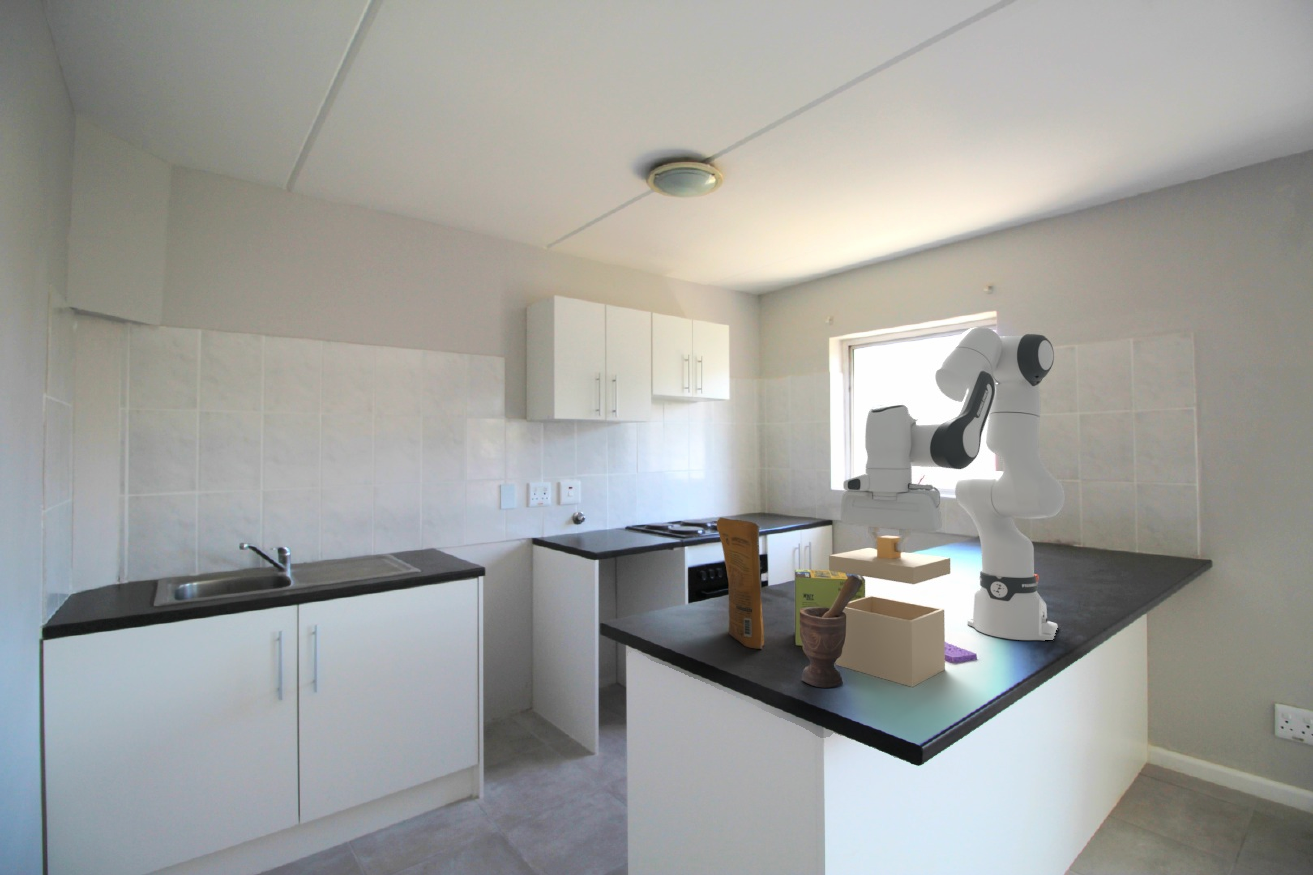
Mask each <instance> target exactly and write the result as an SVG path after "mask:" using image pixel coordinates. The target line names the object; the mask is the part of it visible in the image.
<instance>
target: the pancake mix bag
mask: <svg viewBox="0 0 1313 875" xmlns="http://www.w3.org/2000/svg"><path fill="white" fill-rule="evenodd" d="M760 528H761V526H759V525H758V524H756V522H752V521H748V520H742V519H732V518H731V519H729V518H726V517H725V518H724V517H719V518H718V520H716V529H717V532H718V535H719V538H720V543H721V547H722V552H723V559H724V564H725V567H726V574H727V579H728V580H727V582H728V635H729V636H731V638H733V639H734V640H736V641H738V642H739V643H741V645H743V646H744V647H745V648H751V649H757V650H758V649H761V650H763V646H764V645H765V638H764V620H763V617H764V616H763V607H762V580H761V579H762V577H761V560H760Z"/></svg>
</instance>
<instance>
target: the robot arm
mask: <svg viewBox="0 0 1313 875" xmlns="http://www.w3.org/2000/svg"><path fill="white" fill-rule="evenodd" d="M1054 360H1055V353H1054V348H1053V344H1052V343H1051V341H1050V340H1049V339H1048V338H1047V337H1046V336H1045V335H1043V334H1036V333H1031V334H1030V333H1026V334H1025V335H1005V336H999V334H998V332H996V331H994V330H993V329H990V328H988V327H984V326H977V327H972V328H969V329H968V330H966V331H964V332H963V333H962V334H961V335H959V337H958V338H956V340H955V341H953V343H952V344H951V345H950V346H949V347H948V348H947V349H946V351H945V353H944V354H943V355H942V357H941V358H940V360H939V361H938V363H937V365H936V367H935V370H934V373H933V374H934V375H933V377H934V381H935V384H936V386H937V389H939V391H940V392H941V393H942V394H943V395H945V396H946V397H948V398H949V399H950V400H951V401H952V400H953V401H955V402H959V403H961V405H960V407H959V410H958V412H957V414H955V415H954V416H952V417H948V418H945V419H937V420H935V419H934V420H932V419H931V420H919V419H917V418H915V417H913V416H912V415H911V414H910V412H909V408H908V406H907V405H906V404H903V403H888V404H882V405H877V406H874V407H872V408H871V409H870V410H869V411H868V413H867V418H866V422H865V423H866V425H865V436H864V437H865V439H864V440H865V444H864V446H865V450H866V451H865V452H866V454H867V460H866V464H865V474H862V475H858V476H855V477H852V478H848V479H845V480H844V481H843V483H842V484H843V489H844V491H845V492H844V493H843V494H842V497H841V504H840V519H841V521H842V523H843V524H844V525H847V526H858V527H867V529H868V530H867V531H868V534H869V537H870V538H871V539H872V541H873V548H874V549H876V550H877V537H880V535H879V532H880V529H886V530H887V529H888V530H898V536H900V537H901V538H900V540H899V542H898V543H894V547H895V548H894V551H895V552H900V553H903V552H905V551H906V543H907V542H908V541H909V539H910V538H911V532H918V533H930V534H931V533H937V532H939V531H940V529H942V524H943V523H942V514H941V508H940V503H941V493H940V491H939V489H938V488H936V487H935V486H933V485H932V484H928V483H926V484H919V483H913V482H912V481H913V478H912V476H913V475H912V473H913V469H912V468H913V467H923V468H924V467H925V468H926V467H927V468H928V467H931V468H933V467H934V468H945V469H954V470H963V469H966V468H967V467H968V466H969V465H971V464H972V463H973V462H974V460H975V459H976V458H977V457H978V455H979V453H980V447H981V441H982V434H983V430H984V428H985V426H986V422H987V429H986V441H985V443H986V446H987V448H988V449H989V450H990V451H991V452H992V453H994V455H997V456H998V457H1000V461H1001V463H1002V471H993V470H992V471H987V470H986V471H985V470H981V471H980V470H979V471H976V472H975V471H974V472H970V473H966V474H963V475H962V476H960V478H959V479H958V480H957V483H956V485H955V488H954V494H955V499H956V501H957V503H958V505H959V507H961V508H962V509H963V510H964V511H965V512H966V513H967V514H968V515H969V516H970V518H971V521H973V524H974V526H975V527H976V530H977V533H978V536H979V537H978V538H979V542H980V548H981V549H980V551H981V552H980V553H981V571H979V585H980V588H979V590H977V591H976V592H974V597H973V613H972V618H971V619H968V620H967V622H966V623H967V625H969V626H970V627H973V628H974V629H975V630H976V631H978V632H980V633H982V634H985V635H988V636H992V637H995V638H996V637H997V638H1002V639H1007V640H1015V641H1016V640H1017V641H1018V640H1019V641H1045V640H1053V639H1055V637H1054V636H1056V634H1055V633H1057V632H1056V630H1057V631H1058V629H1057V628H1059V626H1058V623H1056V622H1052V621H1050V620H1048V613H1047V612H1048V610H1047V608H1048V607H1047V603H1046V602H1045V601H1044V599H1043V598H1042V597H1041V596H1040V594H1039V593H1038V590H1039V588H1038V583H1039V579H1040V577H1039V574H1035V552H1034V550H1035V547H1034V544H1033V542H1032V540H1031V539H1030V538H1029V537H1028V536H1026V535H1025V534H1023V533H1022V532H1021V531H1020V530H1019V529H1018V528H1017V526H1016V524H1015V521H1014V518H1016V519H1017V518H1019V519H1026V520H1027V519H1028V520H1037V519H1046V518H1053V517H1055V516H1056V515H1057V514H1059V512H1061V510H1062V508H1063V506H1064V504H1065V498H1066V496H1065V491H1064V490H1065V489H1064V487H1063V485H1062V484H1061V482H1060V481H1059V480H1058V479H1057V478H1056V477H1054V475H1052V473H1050V471H1049V470H1048V469H1047V468H1046V466H1045V464H1044V462H1043V460H1042V457H1041V452H1040V447H1039V444H1040V442H1039V440H1040V439H1039V437H1040V423H1041V422H1040V420H1041V393H1040V385H1039V384H1040V383H1041V382H1042V381H1043V379H1044V378H1045V377H1046V376H1047V375H1048V374H1049V373H1050V371H1051V369H1052V368H1053V365H1054ZM987 420H988V421H987ZM1053 641H1054V640H1053Z"/></svg>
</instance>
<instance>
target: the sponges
mask: <svg viewBox="0 0 1313 875" xmlns="http://www.w3.org/2000/svg"><path fill="white" fill-rule="evenodd" d="M974 659H975V660H978V655H977V653H975V652H974V651H971V650H968V649H965V648H961V647H959V646H957V645H954V644H952V643H949V642H946V641H945V662H949V663H954V664H957V663H963V662H966V661H975V660H974Z"/></svg>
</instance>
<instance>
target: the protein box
mask: <svg viewBox="0 0 1313 875" xmlns="http://www.w3.org/2000/svg"><path fill="white" fill-rule="evenodd" d="M851 575H853V574H847V573H841V572H835V571H829V569H828V570H825V569H794V643H795V646H801V647H803V644H802V641H801V637H800V609H801V608H806V607H827V608H831V607H832V606H833V604H834V602H835V600H836V599H837V597H838V595H839V593H840V591H841V588H842V586H843V585H844V583H845V581H846V580H847V578H848V577H849V576H851ZM853 576H855V577H857V578H859V579H860V580H861V581H862V585H861V587H860V589H859V591H858V592H857V593H856V595H855V596H854V597H853V598H852V599H851V600H850V601H854V600H857V599H861V598H864V597H866V579H865V578H864V576H859V575H853Z"/></svg>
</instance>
